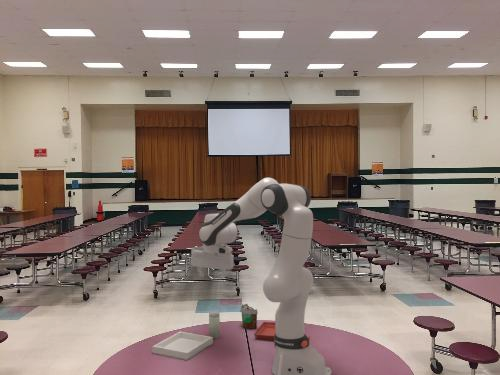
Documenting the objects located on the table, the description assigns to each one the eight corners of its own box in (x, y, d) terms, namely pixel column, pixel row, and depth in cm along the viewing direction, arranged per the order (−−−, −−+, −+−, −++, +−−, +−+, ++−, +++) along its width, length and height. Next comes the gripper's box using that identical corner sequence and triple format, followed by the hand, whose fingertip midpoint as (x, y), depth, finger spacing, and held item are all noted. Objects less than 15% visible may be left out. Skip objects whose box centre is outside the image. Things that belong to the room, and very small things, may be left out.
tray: (213, 343, 194) (212, 337, 194) (187, 360, 176) (187, 353, 176) (180, 337, 202) (180, 331, 202) (152, 353, 184) (152, 346, 184)
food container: (236, 324, 220) (236, 305, 220) (247, 322, 223) (247, 303, 223) (246, 331, 209) (246, 311, 209) (257, 329, 211) (257, 309, 211)
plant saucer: (253, 340, 198) (253, 333, 198) (263, 327, 215) (263, 321, 215) (292, 344, 193) (291, 337, 193) (299, 330, 210) (299, 324, 210)
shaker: (221, 335, 204) (221, 311, 204) (216, 339, 200) (215, 314, 200) (212, 334, 207) (212, 310, 206) (207, 337, 202) (206, 312, 202)
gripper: (188, 246, 198) (187, 276, 199) (231, 250, 193) (229, 281, 193) (194, 244, 204) (193, 273, 205) (235, 248, 199) (234, 278, 199)
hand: (211, 277), depth 199 cm, fingers open, 8 cm apart
